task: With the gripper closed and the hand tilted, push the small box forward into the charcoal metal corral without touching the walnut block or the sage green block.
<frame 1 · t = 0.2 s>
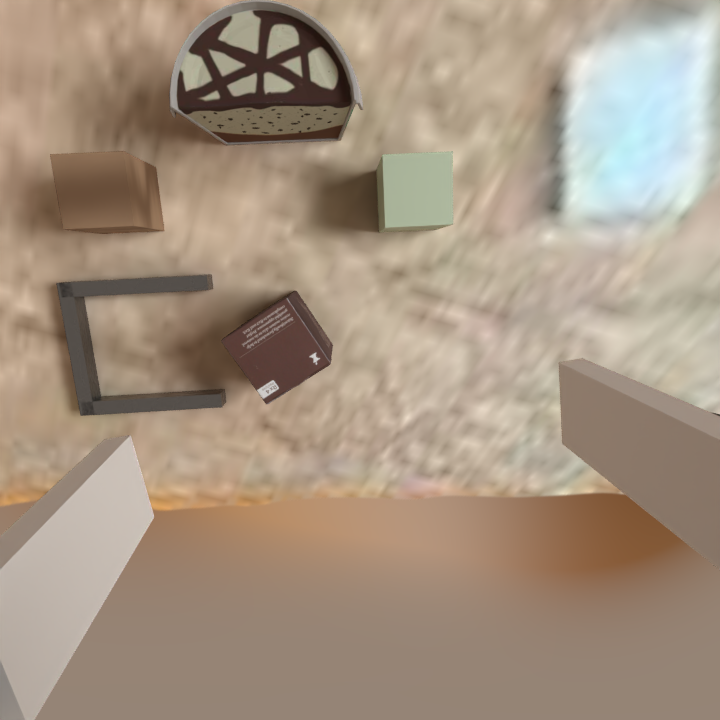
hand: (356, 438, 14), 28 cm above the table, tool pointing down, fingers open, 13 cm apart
food container: (280, 102, 38), on the table
corral: (150, 344, 42), on the table
sage green block: (407, 200, 40), on the table
box: (287, 335, 42), on the table
walnut block: (129, 201, 39), on the table
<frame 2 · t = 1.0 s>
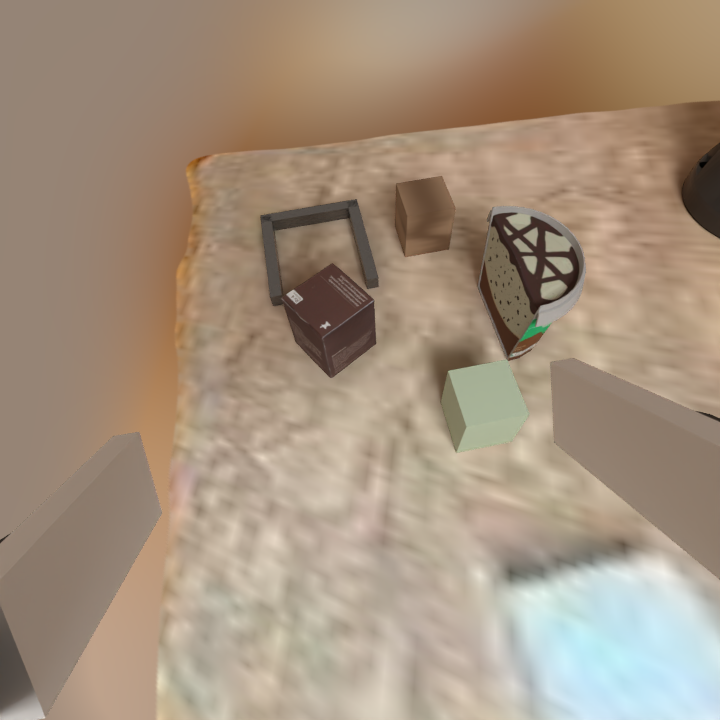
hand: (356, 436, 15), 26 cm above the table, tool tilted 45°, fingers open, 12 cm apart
food container: (520, 317, 48), on the table
corral: (318, 255, 54), on the table
sage green block: (475, 421, 43), on the table
box: (335, 344, 48), on the table
walnut block: (421, 237, 54), on the table
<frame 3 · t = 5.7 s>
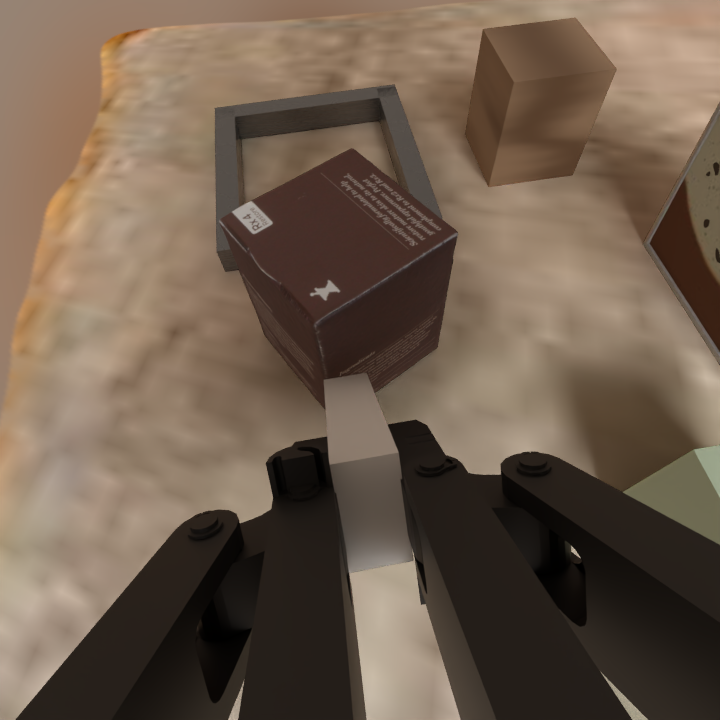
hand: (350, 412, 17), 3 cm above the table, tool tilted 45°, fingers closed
corral: (319, 180, 28), on the table
sage green block: (699, 561, 17), on the table
box: (349, 344, 22), on the table, touching gripper
walnut block: (516, 154, 29), on the table
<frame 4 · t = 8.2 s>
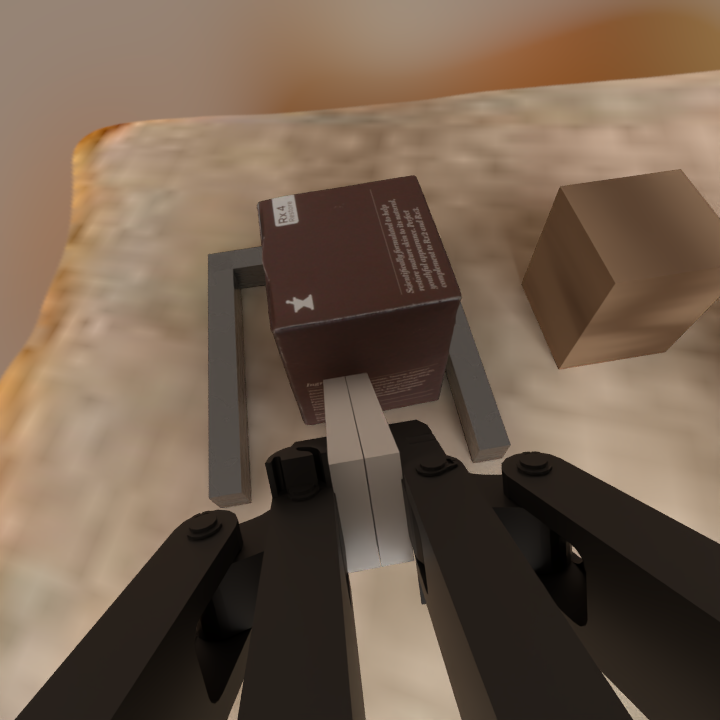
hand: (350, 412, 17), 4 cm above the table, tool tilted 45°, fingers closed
corral: (341, 356, 22), on the table
box: (360, 360, 22), on the table, touching gripper
walnut block: (589, 317, 23), on the table
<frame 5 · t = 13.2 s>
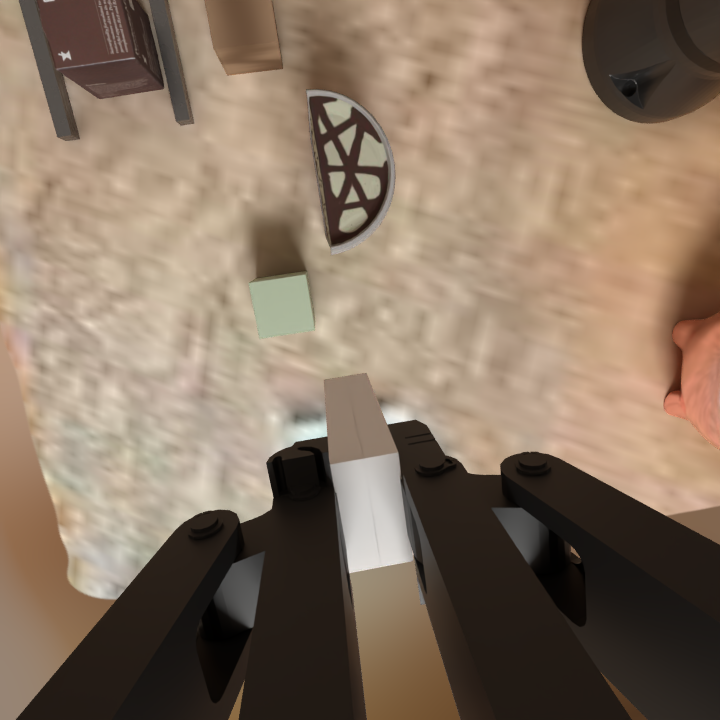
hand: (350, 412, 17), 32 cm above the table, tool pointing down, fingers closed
food container: (349, 183, 46), on the table
piggy bank: (711, 358, 54), on the table
corral: (112, 58, 41), on the table
sage green block: (286, 299, 48), on the table
box: (123, 58, 42), on the table
walnut block: (249, 41, 42), on the table
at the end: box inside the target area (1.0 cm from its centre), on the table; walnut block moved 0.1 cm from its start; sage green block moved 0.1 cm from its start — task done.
